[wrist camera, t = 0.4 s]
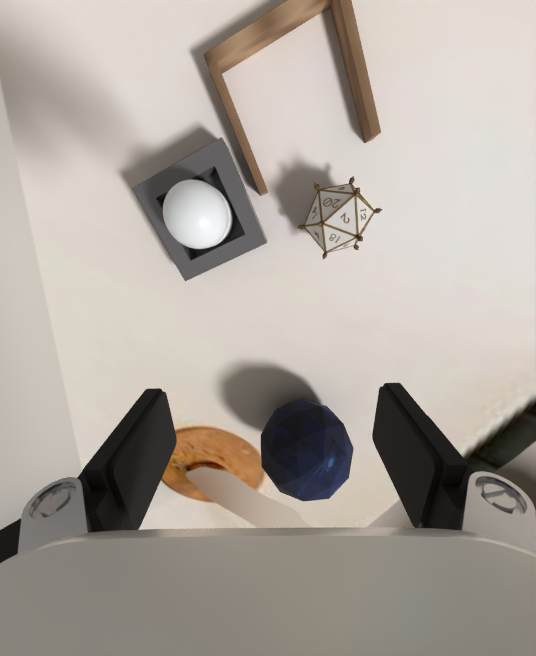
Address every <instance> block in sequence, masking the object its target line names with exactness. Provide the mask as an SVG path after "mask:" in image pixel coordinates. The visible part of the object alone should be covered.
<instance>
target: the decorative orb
mask: <svg viewBox="0 0 536 656" xmlns="http://www.w3.org/2000/svg"><path fill="white" fill-rule="evenodd" d="M352 454H353V446H352V444H351V441H350V439H349V436H348V434H347V431H346V429H345V426H344V424H343V423H342V422H341V421H340V420H339V419H338V418H337V416H336V415H335V414H334V413H333V412H332V411H331V410H330V409H329V408H328V407H327V406H324V405H321V404H317V403H314V402H311V401H307V400H304V399H300V400H298V401H295V402H292V403H290V404H287V405H284V406H282V407H280V408H278V409H276V411H275V412H274V414H273V415H272V417H271V418H270V420H269V421H268V423H267V425H266V426H265V428H264V430H263V432H262V434H261V459H262V468H263V469H264V470H265V472H266V473H267V475H268V476H269V477H270V479H271V480H272V481H273V483H274V484H275V486H276V487H277V488H278V490H279V491H280V492H281V493H284V494H286V495H289V496H291V497H294V498H296V499H299V500H301V501H311V500H321V499H329V498H330V497H331V496H332V495H333V494H334V493H335V492H336V491H337V490H338V489H339V487H340V486H341V485H342V484H343V483H344V482H345V481H346V480H347V479H348V478H349V473H350V466H351V460H352Z"/></svg>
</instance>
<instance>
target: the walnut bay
mask: <svg viewBox="0 0 536 656" xmlns="http://www.w3.org/2000/svg"><path fill="white" fill-rule="evenodd" d="M330 6H331V10H332V14H333V18H334V22H335V26H336V30H337V34H338V38H339V42H340V46H341V50H342V54H343V58H344V62H345V66H346V70H347V74H348V78H349V82H350V86H351V90H352V94H353V98H354V102H355V106H356V110H357V114H358V118H359V122H360V126H361V130H362V134H363V138H364V142H365V143H366V142H368V141H370V140H372V139H374V138H375V137H376V136H377V135H378V134H379V133H381V130H380V125H379V121H378V117H377V112H376V108H375V103H374V99H373V94H372V90H371V86H370V81H369V77H368V72H367V68H366V63H365V59H364V55H363V50H362V46H361V41H360V37H359V32H358V28H357V24H356V19H355V15H354V10H353V6H352V1H351V0H287V1H286V2H284V3H282V4H281V5H279V6H278V7H276V8H275V9H273V10H272V11H270V12H269V13H267V14H265V15H264V16H262V17H261V18H259V19H258V20H256V21H255V22H253V23H251V24H250V25H248V26H247V27H245V28H244V29H242V30H241V31H239V32H237V33H236V34H234V35H233V36H231V37H230V38H228V39H227V40H225V41H224V42H222V43H220V44H219V45H217V46H216V47H214V48H213V49H211V50H210V51H208V52H206V53H205V54H203V55H204V57H205V60H206V62H207V65H208V67H209V70H210V72H211V75H212V77H213V80H214V82H215V84H216V87H217V89H218V92H219V94H220V97H221V99H222V102H223V104H224V107H225V109H226V112H227V114H228V117H229V119H230V121H231V124H232V126H233V129H234V131H235V134H236V136H237V139H238V141H239V144H240V146H241V149H242V151H243V154H244V156H245V158H246V161H247V163H248V166H249V168H250V171H251V173H252V176H253V178H254V181H255V183H256V186H257V188H258V191H259V193H260V195H261V196H262V195H264V194H266V193H268V191H267V188H266V186H265V183H264V180H263V178H262V175H261V173H260V170H259V168H258V165H257V163H256V160H255V158H254V155H253V153H252V150H251V147H250V145H249V142H248V140H247V137H246V135H245V132H244V130H243V127H242V125H241V122H240V119H239V117H238V114H237V112H236V109H235V107H234V104H233V102H232V99H231V97H230V94H229V92H228V89H227V86H226V84H225V81H224V79H223V76H222V73H224V72H226V71H227V70H229V69H230V68H232V67H234V66H235V65H237V64H238V63H240V62H242V61H243V60H245V59H247V58H248V57H250V56H251V55H253V54H255V53H256V52H258V51H259V50H261V49H263V48H264V47H266V46H268V45H269V44H271V43H272V42H274V41H276V40H277V39H279V38H280V37H282V36H284V35H285V34H287V33H288V32H290V31H292V30H293V29H295V28H297V27H298V26H300V25H301V24H303V23H305V22H306V21H308V20H309V19H311V18H313V17H314V16H316V15H318V14H319V13H321V12H322V11H324V10H326V9H327V8H329V7H330Z"/></svg>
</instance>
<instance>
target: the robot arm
mask: <svg viewBox="0 0 536 656" xmlns="http://www.w3.org/2000/svg"><path fill="white" fill-rule="evenodd" d="M372 436H373V442H374V444H375V447H376V449H377V451H378V453H379V455H380V457H381V459H382V461H383V463H384V465H385V468H386V470H387V472H388V474H389V476H390V478H391V480H392V482H393V484H394V487H395V489H396V491H397V493H398V495H399V497H400V499H401V501H402V503H403V506H404V508H405V510H406V512H407V514H408V516H409V518H410V520H411V522H412V524H413V526H414V527H415V528H215V529H150V530H138V529H139V527H140V525H141V523H142V521H143V519H144V517H145V514H146V512H147V510H148V508H149V505H150V503H151V501H152V498H153V496H154V494H155V492H156V489H157V487H158V485H159V483H160V480H161V478H162V476H163V474H164V471H165V469H166V467H167V465H168V462H169V460H170V458H171V456H172V453H173V451H174V449H175V446H176V441H177V439H176V434H175V430H174V425H173V421H172V416H171V412H170V408H169V403H168V399H167V395H166V393H165V392H163V391H162V390H161V389H146V390H145V391H144V392H143V394H142V395H141V396H140V398H139V399H138V400H137V401H136V403H135V404H134V405H133V406H132V408H131V409H130V410H129V412H128V413H127V414H126V415H125V417H124V418H123V419H122V421H121V422H120V423H119V424H118V426H117V427H116V428H115V429H114V431H113V432H112V433H111V435H110V436H109V437H108V438H107V440H106V441H105V442H104V443H103V445H102V446H101V447H100V449H99V450H98V451H97V452H96V454H95V455H94V456H93V458H92V459H91V460H90V461H89V463H88V464H87V465H86V466H85V468H84V469H83V470H82V473H81V474H80V475H79V476H78V478H72V477H68V478H63V479H60V480H58V481H55V482H53V483H51V484H49V485H48V486H46V487H44V488H43V489H42V490H40V491H39V492H38V493H37V494H35V495H34V496H33V497H32V499H31V500H30V501H29V502H28V503H27V505H26V506H25V508H24V510H23V513H22V518H21V519H19V520H17V521H15V522H14V523H12V524H10V525H8V526H7V527H5V528H4V529H1V530H0V656H536V512H535V509H534V505H533V503H532V502H531V500H530V499H529V497H528V496H527V495H526V494H525V493H524V492H523V491H522V490H521V489H520V488H519V487H517V486H516V485H515V484H513V483H512V482H510V481H508V480H507V479H505V478H503V477H501V476H498V475H495V474H493V473H488V472H475V471H474V470H473V469H472V468H471V467H470V465H469V464H468V463H467V462H466V461H465V459H464V458H463V457H462V456H461V455H460V453H459V452H458V451H457V450H456V449H455V447H454V446H453V445H452V444H451V443H450V441H449V440H448V439H447V438H446V437H445V435H444V434H443V433H442V432H441V431H440V429H439V428H438V427H437V426H436V425H435V423H434V422H433V421H432V420H431V419H430V418H429V417H428V416H427V415H426V414H425V413H424V411H423V410H422V409H421V408H420V407H419V405H418V404H417V403H416V402H415V401H414V399H413V398H412V397H411V396H410V394H409V393H408V392H407V391H406V390H405V388H404V387H403V386H402V385H401V384H400V383H385V384H384V385H383V387H380V389H379V395H378V401H377V408H376V414H375V421H374V428H373V435H372Z"/></svg>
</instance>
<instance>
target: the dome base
mask: <svg viewBox="0 0 536 656" xmlns="http://www.w3.org/2000/svg"><path fill="white" fill-rule="evenodd" d="M191 179H193V180H200V181H203V182H206V183H208V184H210V185H211V186H213V187H214V188H216V189H217V190H219V191H220V192H221V193H222V194H223V195H224V196H225V197H226V198H227V200H228V201H229V203H230V206H231V208H232V212H233V225H232V229H231V231H230V233H229V235H228V236H227V238H226V239H225V240H224V241H222V242H221V243H219V244H217V245H215V246H212V247H209V248H205V249H194V248H190V247H187V246H185V245H183V244H181V243H180V242H178V241H177V240H176V239H175V238H174V237H173V236H172V235H171V233H170V232H169V230H168V229H167V227H166V224H165V222H164V218H163V203H164V199H165V197H166V195H167V193H168V192H169V190H170V189H171V188H172V187H173V186H174V185H176V184H177V183H179V182H181V181H185V180H191ZM132 189H133V191H134V193H135V194H136V196H137V198H138V200H139V201H140V203H141V205H142V207H143V208H144V210H145V212H146V214H147V215H148V217H149V219H150V221H151V222H152V224H153V226H154V228H155V229H156V231H157V233H158V235H159V236H160V238H161V240H162V242H163V243H164V245H165V247H166V249H167V250H168V252H169V254H170V256H171V257H172V259H173V261H174V263H175V264H176V266H177V268H178V270H179V271H180V273H181V275H182V277H183V278H184V280H185V281H187V280H189V279H191V278H193V277H195V276H197V275H199V274H202V273H204V272H206V271H208V270H210V269H212V268H214V267H217V266H219V265H221V264H223V263H225V262H227V261H229V260H231V259H234V258H236V257H238V256H240V255H242V254H244V253H246V252H249V251H251V250H253V249H255V248H257V247H259V246H261V245H263V244H266V243H267V239H266V237H265V234H264V232H263V229H262V227H261V225H260V222H259V220H258V218H257V215H256V213H255V210H254V208H253V206H252V203H251V201H250V199H249V196H248V194H247V192H246V189H245V187H244V184H243V182H242V180H241V177H240V175H239V173H238V170H237V168H236V165H235V163H234V161H233V158H232V156H231V154H230V151H229V149H228V147H227V145H226V143H225V142H224V140H223V138H222V137H221V138H220V139H218V140H216V141H214V142H213V143H211V144H209V145H207V146H206V147H204V148H202V149H200V150H199V151H197V152H195V153H193V154H192V155H190V156H188V157H186V158H185V159H183V160H181V161H179V162H178V163H176V164H174V165H172V166H171V167H169V168H167V169H165V170H164V171H162V172H160V173H158V174H157V175H155V176H153V177H151V178H149V179H148V180H146V181H144V182H142V183H141V184H139V185H137V186H135V187H134V188H132Z"/></svg>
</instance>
